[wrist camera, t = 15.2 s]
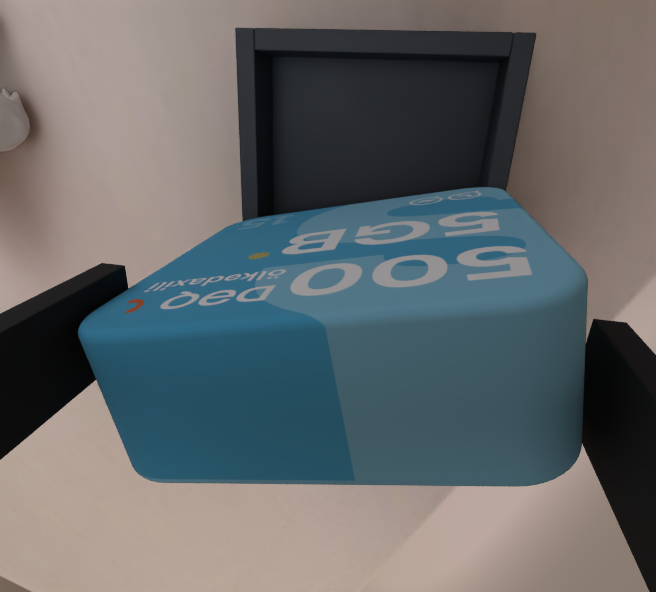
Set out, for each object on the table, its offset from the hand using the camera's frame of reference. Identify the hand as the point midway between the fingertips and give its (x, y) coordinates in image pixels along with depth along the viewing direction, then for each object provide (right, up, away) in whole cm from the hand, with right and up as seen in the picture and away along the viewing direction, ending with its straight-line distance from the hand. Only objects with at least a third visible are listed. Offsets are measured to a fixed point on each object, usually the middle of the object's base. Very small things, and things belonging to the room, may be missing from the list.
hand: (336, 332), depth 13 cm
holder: (+2, +4, +11) cm, 12 cm away
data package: (+2, +3, +8) cm, 9 cm away
